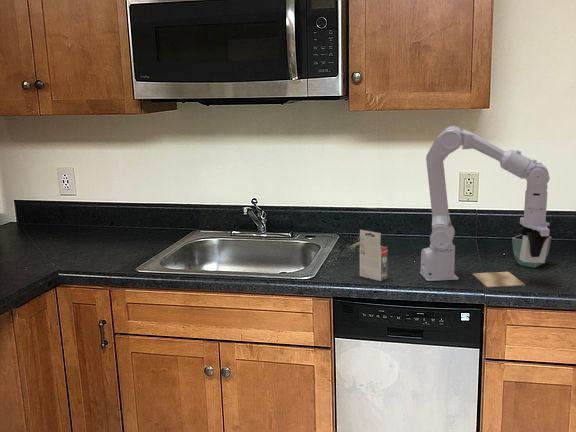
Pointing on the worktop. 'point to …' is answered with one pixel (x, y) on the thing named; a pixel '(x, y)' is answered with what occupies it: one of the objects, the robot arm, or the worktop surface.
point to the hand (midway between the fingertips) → (532, 254)
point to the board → (498, 279)
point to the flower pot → (517, 250)
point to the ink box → (372, 256)
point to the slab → (525, 251)
